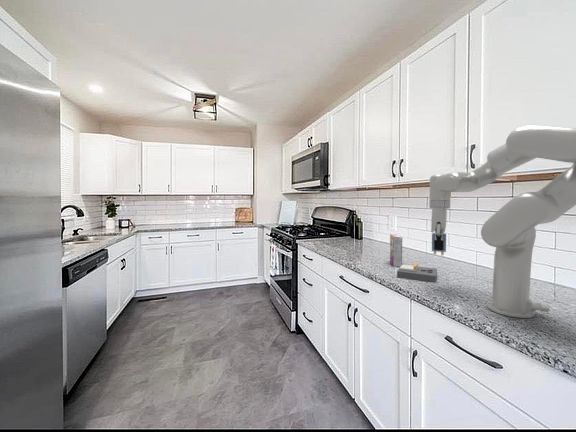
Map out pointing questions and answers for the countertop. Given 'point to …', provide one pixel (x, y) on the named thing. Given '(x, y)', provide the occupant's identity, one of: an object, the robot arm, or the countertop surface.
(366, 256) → the countertop surface
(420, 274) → the socket
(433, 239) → the plug
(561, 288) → the countertop surface
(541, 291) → the countertop surface
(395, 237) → the candy bar box
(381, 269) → the countertop surface
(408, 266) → the shutter
